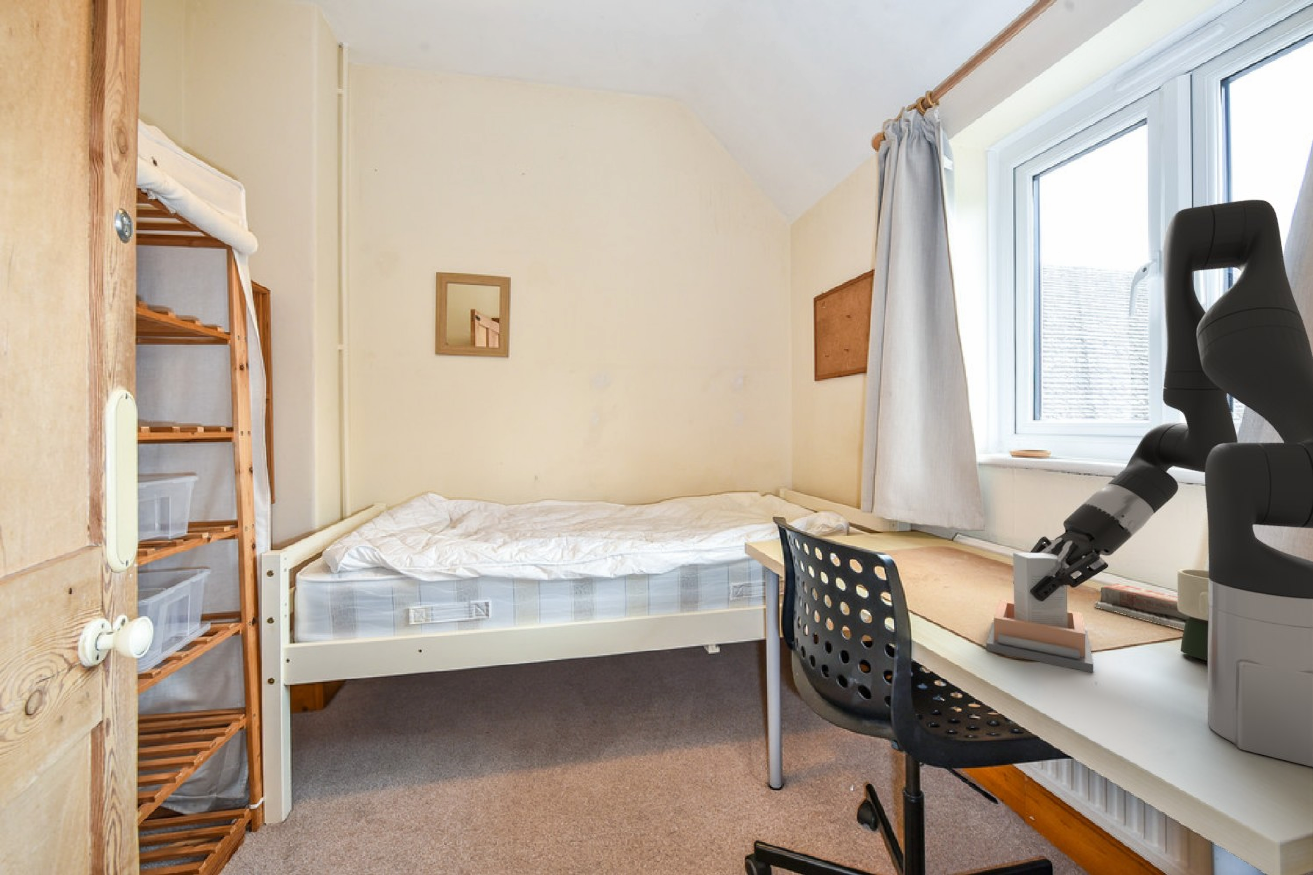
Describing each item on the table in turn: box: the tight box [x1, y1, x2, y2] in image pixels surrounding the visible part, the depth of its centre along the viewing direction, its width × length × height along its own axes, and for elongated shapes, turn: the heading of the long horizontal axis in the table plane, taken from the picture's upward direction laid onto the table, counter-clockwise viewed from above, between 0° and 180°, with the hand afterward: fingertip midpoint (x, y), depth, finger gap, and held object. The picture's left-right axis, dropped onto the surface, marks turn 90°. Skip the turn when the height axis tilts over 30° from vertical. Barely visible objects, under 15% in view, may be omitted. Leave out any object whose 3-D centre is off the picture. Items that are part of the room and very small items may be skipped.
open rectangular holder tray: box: [986, 599, 1094, 674], centre depth 86 cm, size 16×13×5 cm
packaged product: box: [1093, 583, 1191, 629], centre depth 98 cm, size 18×5×10 cm
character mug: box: [1176, 568, 1209, 664], centre depth 80 cm, size 11×7×13 cm, turn 127°
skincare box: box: [1012, 552, 1068, 628], centre depth 86 cm, size 6×4×12 cm
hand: (1026, 592), depth 86 cm, fingers closed on skincare box, 4 cm apart
